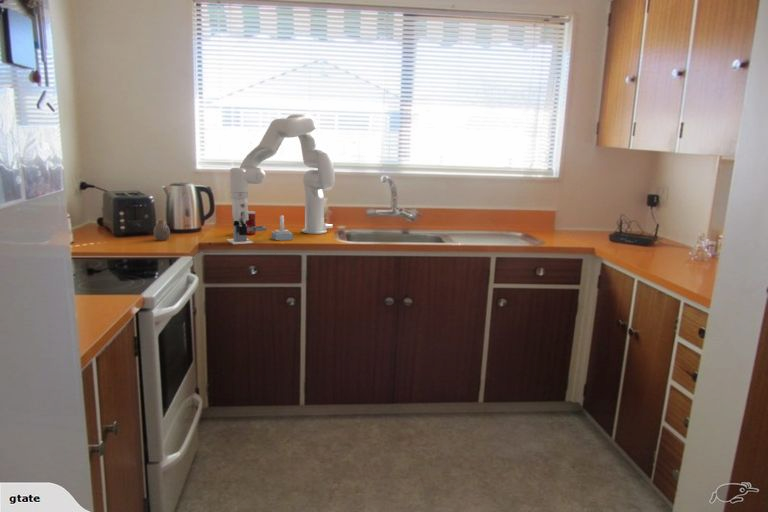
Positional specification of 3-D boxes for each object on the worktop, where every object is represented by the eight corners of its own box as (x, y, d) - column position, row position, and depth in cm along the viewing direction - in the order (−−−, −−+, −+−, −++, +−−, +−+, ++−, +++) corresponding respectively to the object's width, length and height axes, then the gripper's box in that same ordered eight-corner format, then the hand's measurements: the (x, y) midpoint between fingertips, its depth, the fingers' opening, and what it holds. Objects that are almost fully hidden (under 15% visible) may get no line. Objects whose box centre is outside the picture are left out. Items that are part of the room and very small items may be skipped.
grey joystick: (287, 237, 267) (287, 214, 265) (292, 239, 261) (292, 216, 259) (271, 238, 263) (271, 215, 261) (276, 240, 257) (276, 217, 255)
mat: (246, 238, 259) (246, 238, 259) (253, 243, 250) (253, 242, 250) (227, 240, 255) (227, 239, 254) (233, 244, 245) (233, 243, 245)
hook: (236, 241, 249) (235, 226, 247) (233, 240, 253) (232, 224, 252) (266, 240, 256) (266, 225, 254) (263, 238, 260) (262, 223, 259)
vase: (150, 240, 249) (149, 220, 247) (162, 238, 255) (162, 219, 253) (161, 241, 246) (160, 222, 244) (173, 239, 252) (172, 220, 250)
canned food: (253, 235, 269) (253, 213, 267) (237, 234, 269) (236, 212, 267) (257, 232, 276) (257, 211, 274) (241, 232, 276) (241, 210, 274)
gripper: (253, 197, 242) (253, 236, 246) (242, 193, 257) (242, 230, 261) (236, 197, 239) (237, 237, 242) (225, 194, 253) (226, 230, 257)
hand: (240, 233), depth 251 cm, fingers open, 9 cm apart
